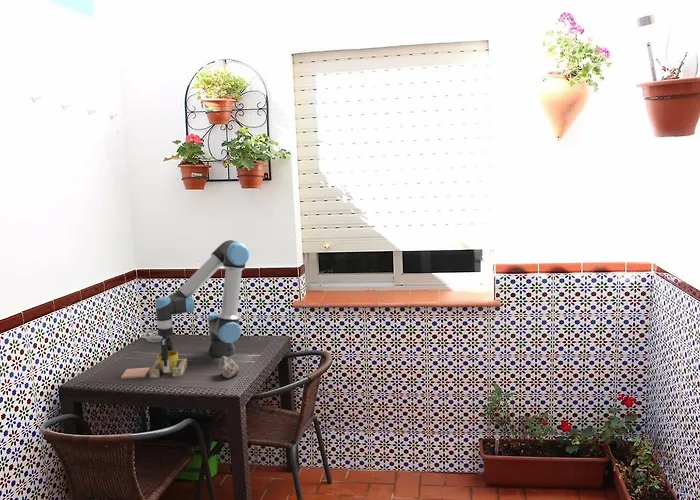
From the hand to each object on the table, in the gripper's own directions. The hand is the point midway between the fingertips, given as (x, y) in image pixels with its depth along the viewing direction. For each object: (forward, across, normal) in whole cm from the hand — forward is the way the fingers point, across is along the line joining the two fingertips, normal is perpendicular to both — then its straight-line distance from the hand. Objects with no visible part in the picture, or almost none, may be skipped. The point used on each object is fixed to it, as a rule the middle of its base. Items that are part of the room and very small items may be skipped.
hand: (168, 368), depth 343 cm
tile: (+2, 0, -17) cm, 17 cm away
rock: (+2, +13, +32) cm, 35 cm away
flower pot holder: (+2, 0, 0) cm, 2 cm away
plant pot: (+2, 0, 0) cm, 2 cm away
